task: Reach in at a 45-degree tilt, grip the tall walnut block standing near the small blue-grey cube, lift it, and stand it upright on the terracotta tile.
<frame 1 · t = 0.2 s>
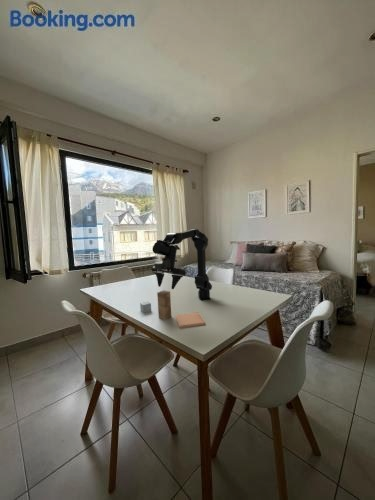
hand: (165, 287, 102), 15 cm above the table, tool tilted 15°, fingers open, 9 cm apart
walnut block: (165, 317, 103), on the table
terracotta tile: (189, 320, 98), on the table
blue-grey cube: (145, 311, 113), on the table
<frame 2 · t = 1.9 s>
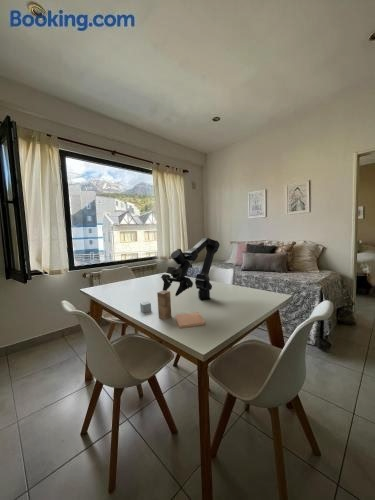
hand: (169, 294, 105), 11 cm above the table, tool tilted 45°, fingers open, 9 cm apart
nothing on the table moved.
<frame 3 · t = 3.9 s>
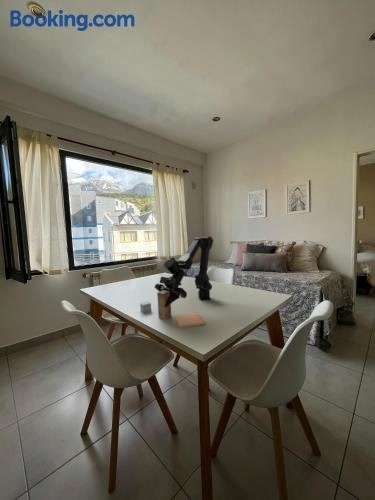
hand: (162, 305, 101), 7 cm above the table, tool tilted 45°, fingers closed on walnut block, 4 cm apart
walnut block: (165, 317, 103), on the table, touching gripper
everything else where it was.
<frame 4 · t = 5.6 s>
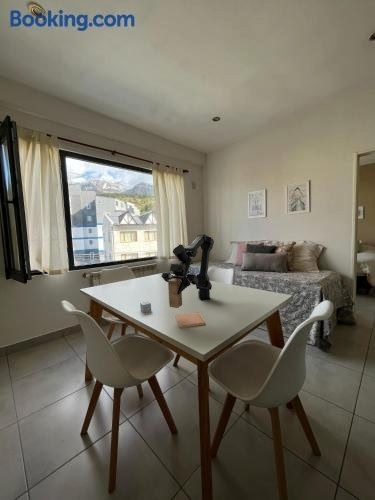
hand: (173, 293, 97), 13 cm above the table, tool tilted 45°, fingers closed on walnut block, 4 cm apart
walnut block: (175, 305, 99), point 7 cm above the table, touching gripper
everything else where it was.
when the fingers open (9 cm above the table, at t = 7.5 s): walnut block drops 1 cm, resting on terracotta tile.
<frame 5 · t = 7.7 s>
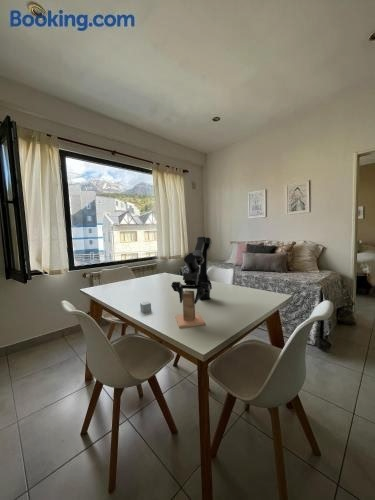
hand: (187, 303, 96), 9 cm above the table, tool tilted 45°, fingers open, 7 cm apart
walnut block: (189, 318, 98), point 1 cm above the table, touching terracotta tile
everything else where it was.
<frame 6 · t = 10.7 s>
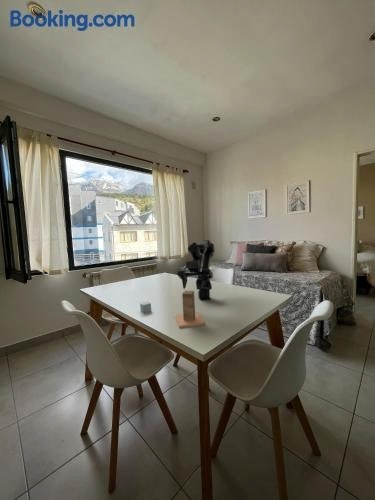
hand: (192, 288, 105), 13 cm above the table, tool tilted 40°, fingers open, 9 cm apart
nothing on the table moved.
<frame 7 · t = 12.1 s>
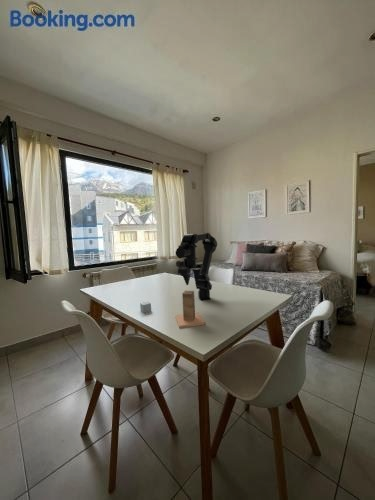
hand: (191, 283, 117), 13 cm above the table, tool pointing down, fingers open, 9 cm apart
nothing on the table moved.
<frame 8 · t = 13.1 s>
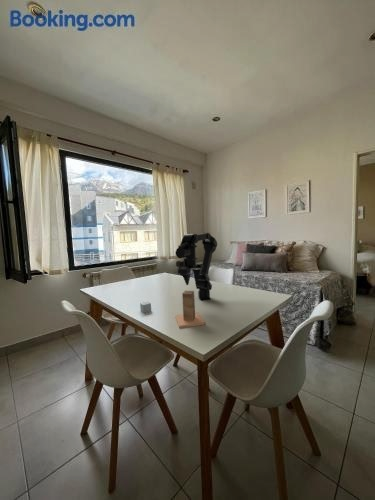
hand: (191, 283, 117), 13 cm above the table, tool pointing down, fingers open, 9 cm apart
nothing on the table moved.
at the end: walnut block inside the target area on the terracotta tile (0.0 cm from its centre), point 1.0 cm above the terracotta tile's base; walnut block tilted 0°; the gripper is holding nothing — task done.
